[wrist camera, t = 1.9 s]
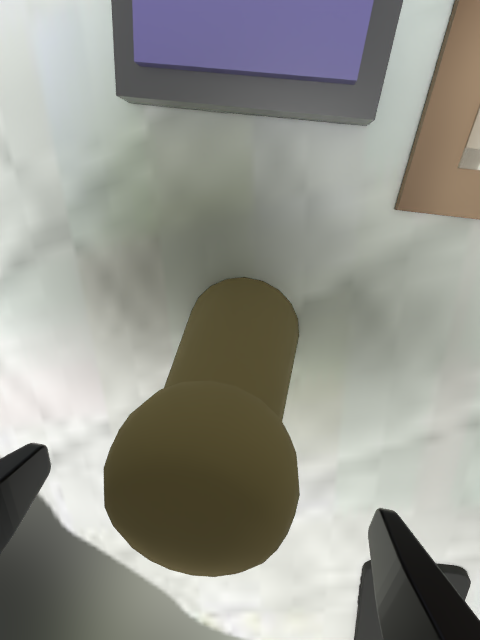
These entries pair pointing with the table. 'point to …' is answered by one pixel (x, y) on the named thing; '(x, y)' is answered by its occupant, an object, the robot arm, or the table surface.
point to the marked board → (449, 127)
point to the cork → (213, 440)
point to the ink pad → (256, 56)
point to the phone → (367, 615)
